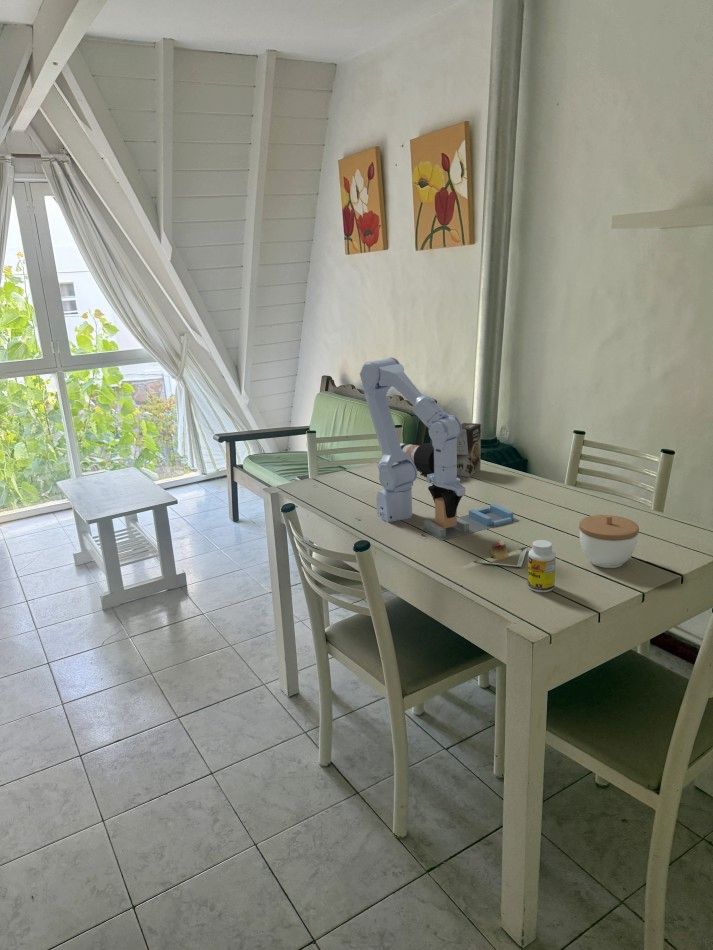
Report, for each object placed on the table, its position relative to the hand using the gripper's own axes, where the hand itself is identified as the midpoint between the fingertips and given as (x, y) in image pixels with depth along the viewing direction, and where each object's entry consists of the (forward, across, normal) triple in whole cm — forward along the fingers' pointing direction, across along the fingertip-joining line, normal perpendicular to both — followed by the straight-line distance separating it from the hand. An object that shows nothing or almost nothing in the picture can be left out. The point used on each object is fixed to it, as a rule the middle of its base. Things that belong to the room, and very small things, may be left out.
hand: (445, 514), depth 173 cm
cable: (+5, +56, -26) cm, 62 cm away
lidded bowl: (+5, -35, -20) cm, 41 cm away
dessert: (+6, -19, -2) cm, 20 cm away
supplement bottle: (+5, -37, +1) cm, 37 cm away
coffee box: (+5, +40, -35) cm, 53 cm away
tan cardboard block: (+3, 0, 0) cm, 3 cm away
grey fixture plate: (+5, 0, -7) cm, 9 cm away
